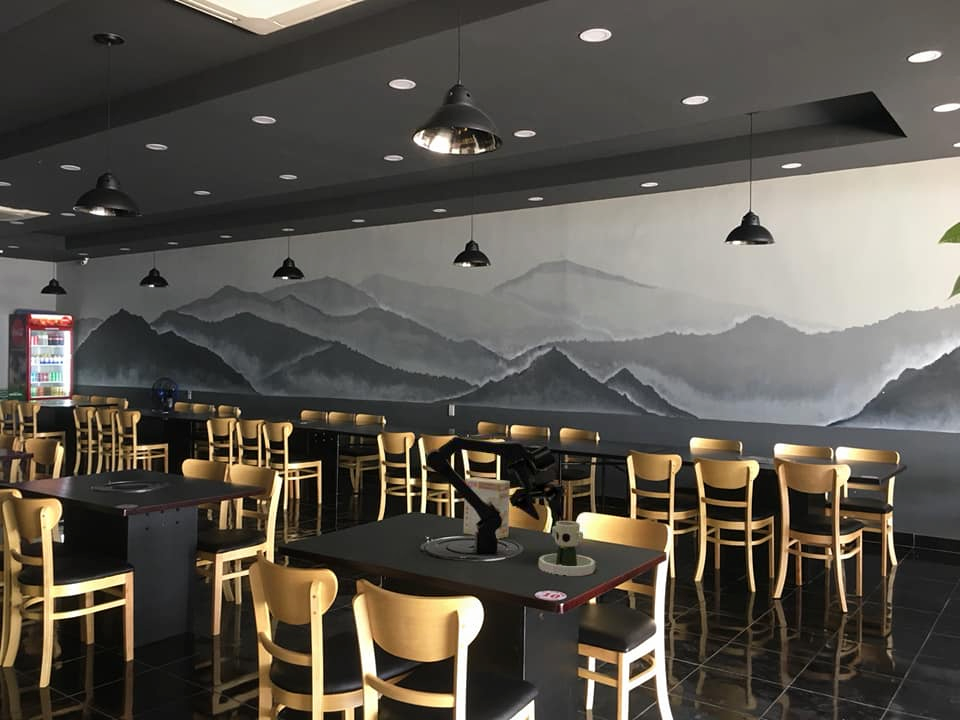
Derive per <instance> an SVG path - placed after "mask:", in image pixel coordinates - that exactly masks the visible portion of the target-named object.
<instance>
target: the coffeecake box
mask: <svg viewBox="0 0 960 720" xmlns="http://www.w3.org/2000/svg"><path fill="white" fill-rule="evenodd" d="M464 479H465V480H464V481H465V482H466V483H467V484H468V486H469V487H470V488H471V489H472V490H473V491H474V492H475V493H476V494H477V495H478V496H479V497H480V498H481V499H482V500H483V501H484V502H486V503H487V504H488V503H489V502H490V501H491V502H492V504H493V505H494V506H495V507H496V508H497V509H499V511H500V513H501V514H500V516H501V518H502V525H501V527H500V528H499V529H497V530H496V532H495V533H496V538H497V539H498V540H500V538H501V539H505V538H507V537H509V523H510V490H511V486H510V485H511V480H501V479H493V478H486V477H479V476H473V477H466V478H464ZM463 505H464V507H463V508H464V510H463V531H462V532H463V534H467V535H472V536H475V532H478V530H477V527H476V523H477V522H479V521H480V520H481V519H480V517H479V515H478V514H477V512H476V511H475V509H474V508H473V507H472V506H471V505H470V504H469V503H468V502H467V501H466V500H465V499H464V504H463ZM504 537H505V538H504Z"/></svg>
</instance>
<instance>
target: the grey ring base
mask: <svg viewBox="0 0 960 720" xmlns="http://www.w3.org/2000/svg"><path fill="white" fill-rule="evenodd" d="M556 558H557V553H550V554H544V555H541V556H540V557H539V558H538V568H539V569H540V570H541V571H542V572H544V571H545V572H544V573H547V572H548V574H551V573H552V574H551V575H555V574H558V575H557V576H563V575H566V576H565V577H582V576H583V577H584V576H587V575H591V574H593V573H594V572H595V570H596V560H594V559H592V558H591V557H588V556H584V555H581V554H576V558H577V566H561V564H559V565H556Z"/></svg>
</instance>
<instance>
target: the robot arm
mask: <svg viewBox="0 0 960 720" xmlns="http://www.w3.org/2000/svg"><path fill="white" fill-rule="evenodd" d="M461 450H463V451H470V452H477V453H485V454H490V455H491V454H492V455H497V456H498V457H499V456H500V457H502V458H504V459H507V460H510V461H514V463H513V462H509V463H508V466H507V467H506V471H507V472H508V474H509V475H512V474H513V473H515V474H516V477H517V479H518V481H519V482H520V484H519V485H518V486H519V488H516V489H515V491H514V492H513V493H512V495H511V496H509V504H510V505H511V506H512V507H515V508H517V509H520V510H521V511H522V512H523V513H526V514H527V515H528V516H530V517H532V518H533V519H535V520H536V521H539V520H540V515H539V513H538V511H537V508H536V507H535V504H534V502H533V500H536V499H545V500H546V502H548V503H547V505H548V506H549V507H550V508H551V510H552V511H553V512H554V513H555V514H556V516H558V518H561V519H562V517H563V511H562V504H561V502H562V501H561V500H562V499H561V498H562V497H563V495H565V493H566V489H565V487H564V486H563V485H562V484H561V485H560V484H558V485H556V484H555V485H551V487H550V488H549V489H548V490H545V489H547V488H548V487H549V485H548V484H551V483H553V482H555V480H557V477H558V475H557V473H556V472H555V470H554V469H548V468H551V467H552V466H554V465H556V464H557V461H556V458H555V456H554V455H553V454H552V452H551V450H550V448H549V447H548V446H547V445H546V444H544V445H542V446H541V447H539V448H537V449H536V450H534V451H532V452H531V451H530V450H529V449H528V450H527V449H525V448H524V446H523V445H522V444H521V443H519V442H518V441H515V440H507V441H503V440H502V441H489V440H482V439H475V438H474V439H473V438H468V437H467V438H466V437H461V436H457V435H456V436H453V437H452V438H451V439H450V440H448V441H447V442H446V443H444V444H442V445H441V446H440V447H438V448H437V449H434V448H433V449H431V450H430V451H429V452H428V453H427V455H426V464H427V466H428V468H430V469H431V470H433V471H434V472H435V473H437V474H438V475H439V476H441V477H443V478H444V479H445V480H446V481H447V482H448V483H449V484H450V485H451V486H452V487H453V488H454V489H455V490H456V491H457V492H458V494H459V495H460V496H461V497H462V498H463V499H464V501H465V500H466V501H467V502H468V503H469V504H470V505H471V506H472V507H473V508H474V509H475V511H476V512H477V514H478V515H479V517H480V519H481V520H480V521H479V522H477V523H476V527H477V530H478V532H475V535H474V548H473V549H472V551H473V552H474V553H475V554H476V555H477V554H478V556H480V555H479V554H496V555H497V554H498V545H499V544H498V542H499V539H497V538H496V533H495V532H496V530H497V529H499V528H500V527H501V525H502V518H501V516H500V514H501V513H500V511H499V509H497V508H496V507H495V506H494V505H493V504H492V502H491V501H490V502H489V503H488V504H487V503H486V502H484V501H483V500H482V499H481V498H480V497H479V496H478V495H477V494H476V493H475V492H474V491H473V490H472V489H471V488H470V487H469V486H468V484H467V483H466V482H465V480H464V479H463V478H462V477H461V476H460V475H459V473H458V472H457V471H456V470H455V469H454V468H453V466H452V464H451V463H450V462H449V460H448V459H450V457H452V456H453V455H454V454H455V453H456V452H458V451H461ZM546 469H548V470H546ZM535 470H536V471H537V470H539V471H540V472H538V473H537V472H536V471H535ZM545 470H546V471H545Z"/></svg>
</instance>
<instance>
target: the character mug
mask: <svg viewBox="0 0 960 720" xmlns="http://www.w3.org/2000/svg"><path fill="white" fill-rule="evenodd" d="M580 525H581V524H580V523H579V522H577V521H572V520H558V521H556V522H555V525H554V526H552V529H551V530H552V531H551V536H552V538H554V542H555V544H556V545H558V548H557V553H556V554H557V558H556V565H559V564H561V566H577V558H576V555H577V550H576V546H579V544H583V542H584V533H583V532H582V531H580Z"/></svg>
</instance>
